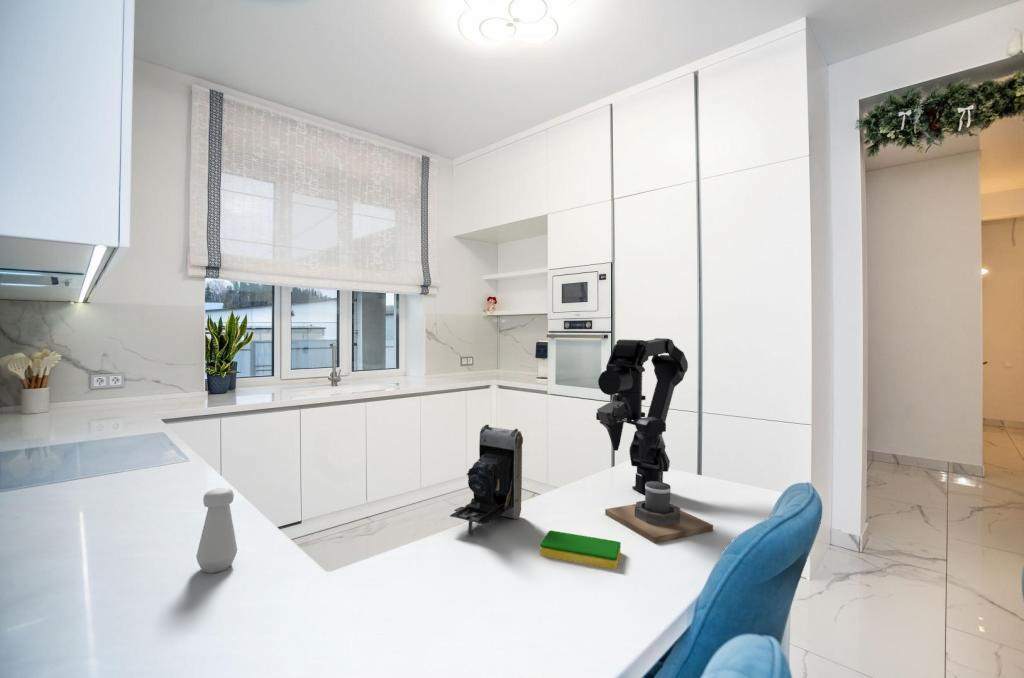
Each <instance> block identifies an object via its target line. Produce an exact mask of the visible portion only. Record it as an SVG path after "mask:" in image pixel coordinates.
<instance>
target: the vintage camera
mask: <svg viewBox="0 0 1024 678" xmlns="http://www.w3.org/2000/svg"><path fill="white" fill-rule="evenodd" d="M523 444H524V437H523V436H522V431H520V430H519V429H518V428H514V429H507V428H502V427H491V426H490V425H489V424H485V425H484V426H482V427H481V429H480V432H479V444H478V446H479V447H478V448H479V449H478V450H479V451H478V452H479V453H478V454H479V455H478V456H479V458H478V460H477V461H476V462H474V463H473V464H472V467H471V468H469V469H468V472H467V473H466V475H467V478H468V480H467V484H468V487H469V489H470V490H471V491H472V493H473V498H471V501H470V503H468V504H466V505H465V506H460V507H456V508H455V509H454V512H453V513H451V514H450V515H449V517H451V518H456V519H461V520H464V521H468V529H467V530H468V531H467V535H468V536H472V535H473V524H474V523H475V524H476V523H477V524H479V525H480V524H481V525H483V526H485V525H486V524H488V523H490V522H491V521H493V520H495V519H496V518H498V517H500V516H501V517H504V518H505V517H506V518H508V519H509V518H510V519H513V520H515V519H516V520H517V519H519V518H520V516H521V513H522V490H523V489H522V486H523V484H522V483H523V479H522V478H523ZM466 475H465V476H466Z"/></svg>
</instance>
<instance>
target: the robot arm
mask: <svg viewBox="0 0 1024 678" xmlns="http://www.w3.org/2000/svg"><path fill="white" fill-rule="evenodd" d="M649 357H652V358H651V360H650V361H651V364H652V365H653V368H654V369H653V373H654V375H655V377H656V384H655V388H654V391H653V395H652V398H651V403H650V404H649V409H648V412H647V416H646V412H643V411H642V406H643V404H642V403H643V402H642V401H646V395H644V394H643V373H645V372H646V368H645V367H644V364H645V363H646V362H647V361H648V360H649ZM605 369H606V370H604V371H603V372H601V373H600V375H599V377H598V381H597V382H598V388H599V389H600V391H601V392H602V393H603V394H605V395H606V396H607V395H608V396H612V395H613V397H612V401H611V402H608V403H606V404H604V405H602V406H600V407H599V408H597V409H596V416H595V417H596V418H595V419H596V420H597V421H599V424H600V425H602V426H603V427H604V428H605V429H606V430H607V431H606V432H607V433H608V435H609V436H608V437H609V439H610V442H611V445H612V448H613V451H619V447H620V444H621V438H622V434H623V429H624V424H625V423H626V424H629V425H633V426H635V429H636V431H634V433H633V434H634V435H633V439H632V442H631V444H630V446H629V457H630V465H631V466H632V467H636V473H635V485H632V487H631V488H632V490H635V491H637V492H639V493H641V494H644V495H645V484H646V482H650V481H657V482H663V483H664V472H667V473H668V472H669V468H670V465H671V462H670V459H669V456H668V454H667V452H666V443H665V441H664V440H665V439H664V438H663V433H664V432H665V433H666V431H667V423H666V420H667V416H668V413H669V409H670V405H671V401H672V398H673V394H674V391H675V387H677V385H679V384H680V383H681V382H682V381H683V380H684V377H685V375H686V372H687V371H688V369H689V363H688V360H687V358H686V355H685V353H684V351H682V350H681V349H679V348H678V346H676V345H675V343H674V341H673V339H670V338H662V337H661V338H659V337H657V338H656V337H655V338H654V339H649V340H644V339H618V340H617V341H616V343H615V344H614V346H613V348H612V351H611V353H610V356H609V358H608V361H607V364H606V367H605Z"/></svg>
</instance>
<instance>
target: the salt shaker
mask: <svg viewBox="0 0 1024 678" xmlns="http://www.w3.org/2000/svg"><path fill="white" fill-rule="evenodd" d="M234 495H235V494H234V491H233V490H232V489H231V488H229V487H219V488H213V489H210V490H208V491H207V492H206V493H205V494H204V495H203V499H202V502H203V506H204V507H205V508H207V511H206V515H205V518H204V519H205V520H204V524H203V528H202V531H201V536H200V539H199V544H198V548H197V551H196V552H197V553H196V556H195V557H196V562H197V563H198V564H197V565H198V566H199V567H200V569H201V571H202V573H205V572H207V573H206V574H212V573H213V574H215V572H217V573H220V572H223V571H226V570H227V569H228V568H229V566H230V565H231V566H232V565H233V563H234V560H235V558H236V556H237V554H238V547H237V546H238V545H237V541H236V534H235V529H234V522H233V517H232V510H231V506H230V505H231V504H232V503H233V501H234ZM231 566H230V567H231ZM219 571H220V572H219Z"/></svg>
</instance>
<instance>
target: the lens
mask: <svg viewBox="0 0 1024 678" xmlns="http://www.w3.org/2000/svg"><path fill="white" fill-rule="evenodd" d="M671 491H672V490H671V485H670V484H669V483H666V482H664V481H663V482H657V481H650V482H646V484H645V494H644V495H645V496H644V498H645V499H644V501H645V510H647V511H649V512H653V513H660V514H667V513H670V504H671Z"/></svg>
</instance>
